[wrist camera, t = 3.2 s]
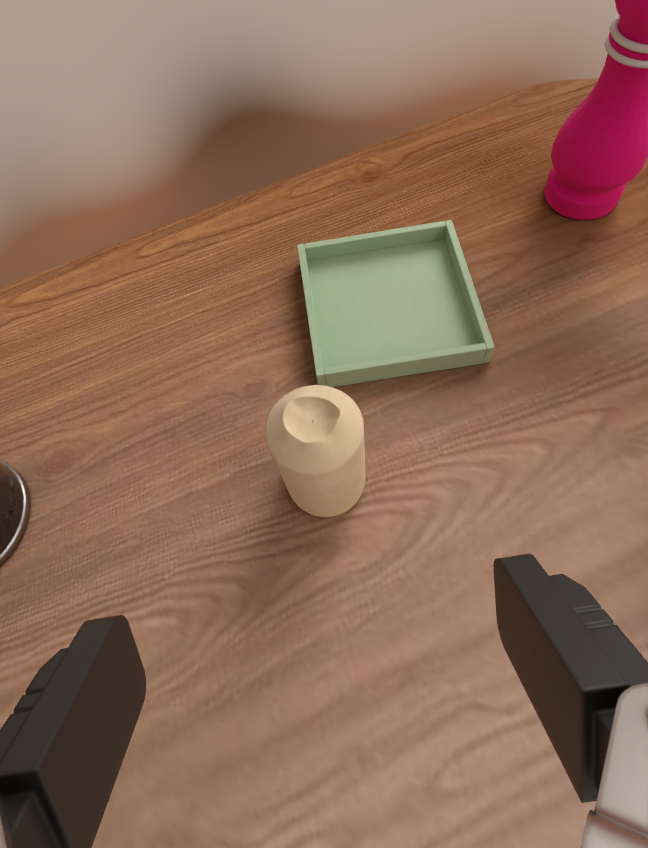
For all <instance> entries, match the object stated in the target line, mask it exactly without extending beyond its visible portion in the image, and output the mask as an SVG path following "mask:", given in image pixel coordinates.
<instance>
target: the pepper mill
mask: <svg viewBox="0 0 648 848" xmlns="http://www.w3.org/2000/svg"><path fill="white" fill-rule="evenodd" d="M615 2H616V8H617V11H618V14H619V15H617V16H616V17H615V18H614V20H613V21H612V23H611V26H610V33H609V34H608V35H607V37H606V40H605V48H606V51H607V53H608V55H607V58H606V62H605V66H604V68H603V71H602V73H601V75H600V77H599V80H598V82H597V83H596V85H595V86H594V88H593V90H592V91H591V93H590V94H589V95H588V96H587V98H586V99H585V100H584V101H583V102H582V103H581V104H580V105H579V106H578V107H577V108H576V109H575V110H574V112H573V113H572V114H571V115H570V116H569V117H568V119H567V120H566V121H565V123H564V124H563V126H562V127H561V129H560V131H559V133H558V135H557V137H556V140H555V142H554V144H553V147H552V152H551V157H552V163H553V166H554V167H553V168H552V169H551V171H550V174H549V177H548V180H547V183H546V186H545V189H544V194H545V198H546V201H547V203H548V204H549V205H550V206H551V208H552V209H554V210H555V211H556V212H558V213H559V214H561V215H564V216H566V217H569V218H573V219H578V220H591V219H596V218H600V217H602V216H604V215H606V214H608V213H610V212H611V211H612V210H613V209H614V208H615V206H616V205H617V203H618V201H619V199H620V197H621V195H622V193H623V191H624V189H625V185H626V183H627V182H629V181H630V180H632V179H633V178H634V177H635V176H636V175H637V174H638V173H639V172H640V171H641V169H642V168H643V166H644V164H645V161H646V159H647V156H648V0H615Z"/></svg>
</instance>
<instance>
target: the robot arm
mask: <svg viewBox="0 0 648 848" xmlns="http://www.w3.org/2000/svg"><path fill="white" fill-rule="evenodd" d="M30 508H31V499H30V493H29V489H28V486H27V484H26V482H25V480H24V479H23V477H22V476H21V475H20V474H19V473H18V471H16V470H15V469H14V468H12V467H11V466H9V465H7V464H5V463H4V462H2V461H0V565H1V564H2V563H3V562H4V561H5V560H6V559H7V558H8V557H9V556H10V554H11V553H12V552H13V551H14V549H15V548H16V546H17V545H18V543H19V542H20V540H21V538H22V536H23V534H24V532H25V529H26V527H27V524H28V520H29V515H30ZM494 583H495V599H496V615H497V624H498V629H499V633H500V637H501V640H502V643H503V646H504V648H505V651H506V653H507V655H508V657H509V659H510V661H511V663H512V665H513V667H514V669H515V671H516V673H517V675H518V677H519V679H520V681H521V683H522V685H523V687H524V689H525V691H526V693H527V695H528V697H529V699H530V701H531V703H532V705H533V707H534V709H535V711H536V713H537V715H538V717H539V719H540V721H541V723H542V725H543V727H544V729H545V731H546V733H547V735H548V737H549V739H550V741H551V743H552V745H553V747H554V749H555V751H556V752H557V754H558V756H559V758H560V760H561V762H562V764H563V766H564V768H565V770H566V772H567V774H568V776H569V778H570V780H571V782H572V784H573V786H574V788H575V790H576V792H577V794H578V796H579V798H580V800H581V802H582V803H584V802H591V801H597V802H596V806H595V810H594V811H592V810H590V811H589V814H588V816H587V820H586V823H585V828H584V832H583V837H582V841H581V846H580V848H648V662H647V661H646V660H645V659H644V657H643V656H642V655H641V654H640V653H639V651H638V650H637V649H636V648H635V647H634V645H633V644H632V643H631V642H630V641H629V639H628V638H627V637H626V636H625V635H624V633H623V632H622V631H621V630H620V629H619V627H618V626H617V625H614V623H613V620H612V619H611V618H610V617H609V615H608V614H607V613H606V612H605V611H604V609H603V610H602V609H601V606H600V605H599V603H598V602H597V601H596V600H595V599H594V597H593V596H592V595H591V594H590V593H589V591H588V590H587V589H586V588H585V587H583V586H582V585H580V584H578V583H577V582H575V581H574V580H572V579H570V578H569V577H567V576H565V575H564V574H559V575H552V576H548V574H547V573H546V572H545V570H544V569H543V568H542V566H541V565H540V564H539V562H538V561H537V560H536V558H535V557H534V556H533V555H532V554H525V555H518V556H512V557H505V558H499V559H495V561H494ZM145 693H146V677H145V671H144V668H143V665H142V662H141V659H140V656H139V653H138V650H137V647H136V644H135V641H134V638H133V635H132V632H131V629H130V626H129V623H128V621H127V619H126V618H125V617H124V616H123V615H119V616H113V617H106V618H99V619H93V620H87V621H85V622H84V623H83V624H82V626H81V627H80V629H79V631H78V632H77V634H76V636H75V637H74V639H73V641H72V642H71V644H70V646H69V647H68V648H65V649H61V650H60V651H59V652H57V653H56V654H55V655H54V656H53V657H52V658H51V659H50V660H49V661H48V662H47V663H46V664H45V665H44V666H42V667H41V668H40V669H39V671H38V672H37V674H36V676H35V677H34V679H33V680H32V682H31V683H30V685H29V687H28V688H27V690H26V695H23V696H22V697H21V699H20V701H19V702H18V704H17V705H16V707H15V708H14V714H11V715H10V716H9V718H8V719H7V721H6V723H5V724H4V726H3V727H2V729H1V730H0V848H91V847H92V845H93V842H94V839H95V836H96V833H97V831H98V828H99V825H100V822H101V820H102V817H103V814H104V811H105V809H106V806H107V803H108V800H109V797H110V795H111V792H112V789H113V786H114V784H115V781H116V778H117V775H118V772H119V770H120V767H121V764H122V761H123V759H124V756H125V753H126V750H127V748H128V745H129V742H130V739H131V736H132V734H133V731H134V728H135V725H136V723H137V720H138V717H139V714H140V711H141V709H142V706H143V703H144V699H145Z"/></svg>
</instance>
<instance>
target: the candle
mask: <svg viewBox="0 0 648 848" xmlns="http://www.w3.org/2000/svg"><path fill="white" fill-rule="evenodd" d="M265 435H266V441H267V444H268V447H269V449H270V452H271V454H272V456H273V458H274V461H275V463H276V465H277V467H278V470H279V472H280V474H281V476H282V479H283V481H284V483H285V485H286V487H287V490H288V492H289V494H290V496H291V498H292V499H293V501H294V502H295V503H296V505H297V506H298V507H300V508H301V509H302V510H304V511H305V512H307V513H309V514H311V515H314V516H318V517H333V516H337V515H340V514H342V513H344V512H346V511H348V510H349V509H351V508H352V507H353V506H354V505H355V504H356V503H357V501H358V500H359V498H360V497H361V495H362V493H363V490H364V486H365V449H364V425H363V419H362V415H361V412H360V410H359V408H358V406H357V405H356V403H355V402H354V401H353V400H352V399H351V398H350V397H349V396H348V395H346V394H345V393H344V392H342V391H340V390H338V389H335V388H333V387H329V386H323V385H311V386H305V387H301V388H298V389H295V390H293V391H291V392H289V393H288V394H286V395H285V396H284V397H282V398H281V399H280V400H279V401H278V402H277V403H276V404H275V406H274V407H273V408H272V410H271V412H270V414H269V416H268V419H267V422H266V429H265Z"/></svg>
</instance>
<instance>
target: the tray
mask: <svg viewBox="0 0 648 848" xmlns="http://www.w3.org/2000/svg"><path fill="white" fill-rule="evenodd" d="M297 248H298V254H299V261H300V268H301V275H302V282H303V289H304V295H305V302H306V309H307V316H308V323H309V330H310V336H311V343H312V350H313V357H314V364H315V371H316V377H317V382H318V385H323V386H329V387H337V386H343V385H349V384H356V383H362V382H368V381H375V380H381V379H387V378H394V377H400V376H407V375H413V374H419V373H426V372H432V371H438V370H445V369H451V368H457V367H464V366H470V365H476V364H483V363H489V362H490V360H491V357H492V354H493V351H494V349H495V347H494V344H493V341H492V338H491V335H490V332H489V329H488V326H487V323H486V320H485V317H484V314H483V311H482V308H481V305H480V302H479V299H478V296H477V294H476V291H475V288H474V285H473V282H472V279H471V276H470V273H469V270H468V267H467V264H466V261H465V258H464V255H463V252H462V249H461V246H460V243H459V240H458V237H457V234H456V231H455V229H454V226H453V223H452V220H447V221H441V222H435V223H429V224H423V225H417V226H410V227H404V228H398V229H392V230H386V231H380V232H374V233H368V234H361V235H355V236H349V237H343V238H337V239H331V240H325V241H318V242H312V243H306V244H299V245H297Z"/></svg>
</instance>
